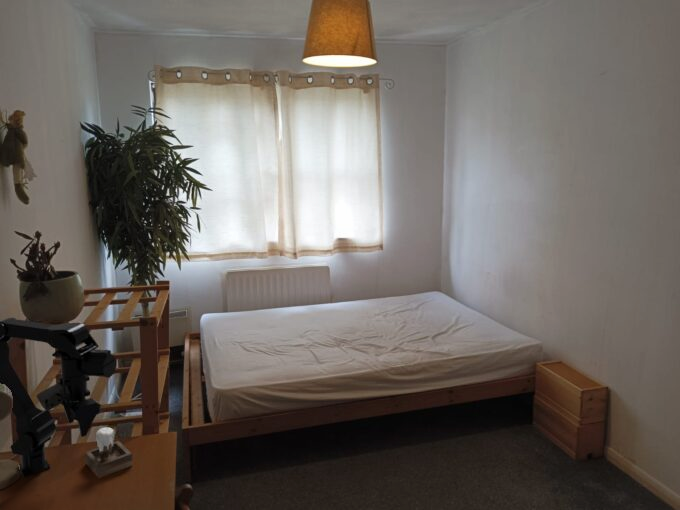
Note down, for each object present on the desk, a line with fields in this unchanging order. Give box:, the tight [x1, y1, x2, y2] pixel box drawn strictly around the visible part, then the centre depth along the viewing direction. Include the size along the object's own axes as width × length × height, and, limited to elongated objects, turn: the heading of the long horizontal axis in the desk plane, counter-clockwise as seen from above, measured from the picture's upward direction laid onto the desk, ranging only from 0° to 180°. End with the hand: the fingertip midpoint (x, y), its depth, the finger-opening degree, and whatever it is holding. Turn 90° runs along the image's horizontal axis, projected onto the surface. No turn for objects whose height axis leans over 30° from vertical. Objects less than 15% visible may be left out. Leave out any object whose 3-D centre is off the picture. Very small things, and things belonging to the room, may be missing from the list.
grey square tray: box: [85, 440, 133, 479], centre depth 146 cm, size 9×9×4 cm
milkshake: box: [95, 427, 116, 463], centre depth 145 cm, size 4×5×10 cm
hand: (77, 429), depth 139 cm, fingers open, 9 cm apart
